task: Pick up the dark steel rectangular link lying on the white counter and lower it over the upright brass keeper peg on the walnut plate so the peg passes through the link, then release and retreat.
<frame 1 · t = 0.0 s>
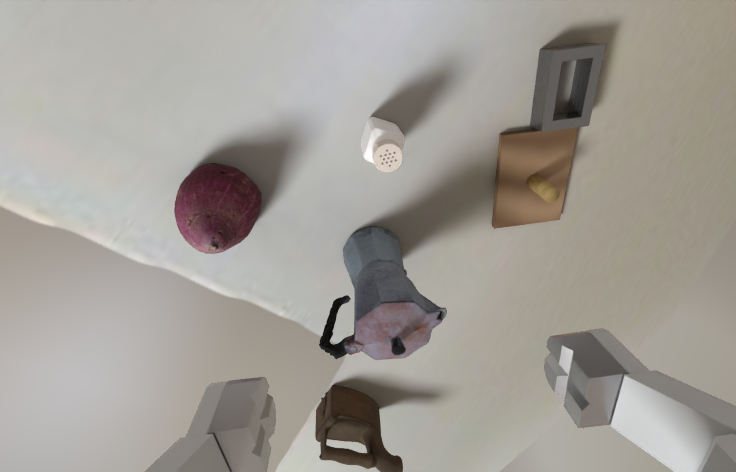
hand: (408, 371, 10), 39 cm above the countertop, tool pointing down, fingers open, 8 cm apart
keeper: (530, 178, 50), on the countertop
moka pot: (369, 252, 55), on the countertop
vegetable: (223, 198, 48), on the countertop
pepper shaker: (378, 133, 46), on the countertop
link: (558, 86, 44), on the countertop
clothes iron: (352, 402, 74), on the countertop
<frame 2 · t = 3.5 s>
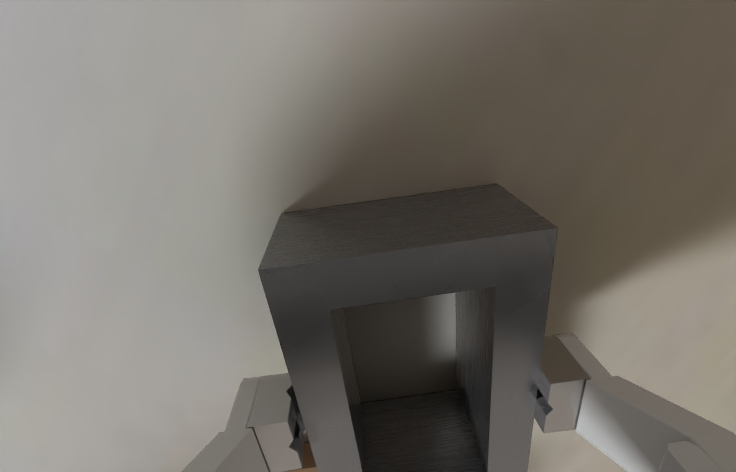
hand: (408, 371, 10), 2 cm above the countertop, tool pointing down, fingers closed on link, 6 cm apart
link: (402, 326, 12), on the countertop, touching gripper
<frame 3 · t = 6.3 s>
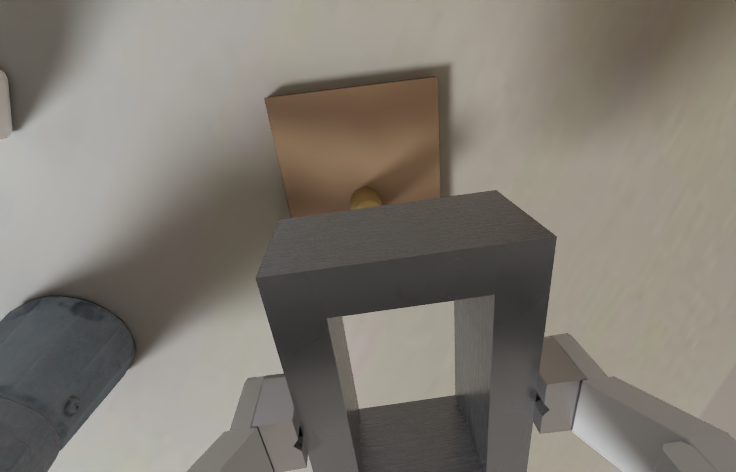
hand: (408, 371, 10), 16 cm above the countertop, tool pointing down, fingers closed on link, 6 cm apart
keeper: (364, 196, 24), on the countertop
moka pot: (76, 342, 28), on the countertop
link: (400, 332, 12), point 14 cm above the countertop, touching gripper
when the fingers open (4 cm above the countertop, at t = 9.1 s): link stays where it is, resting on keeper.
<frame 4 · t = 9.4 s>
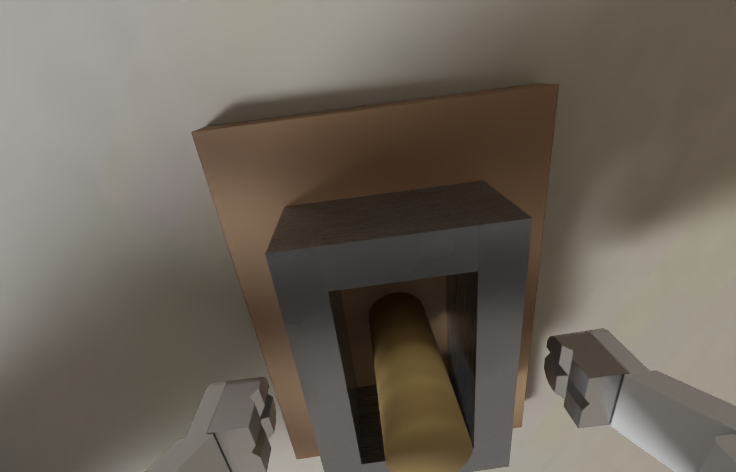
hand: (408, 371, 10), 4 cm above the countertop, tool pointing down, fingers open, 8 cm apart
keeper: (393, 299, 13), on the countertop
link: (396, 313, 12), point 1 cm above the countertop, touching keeper
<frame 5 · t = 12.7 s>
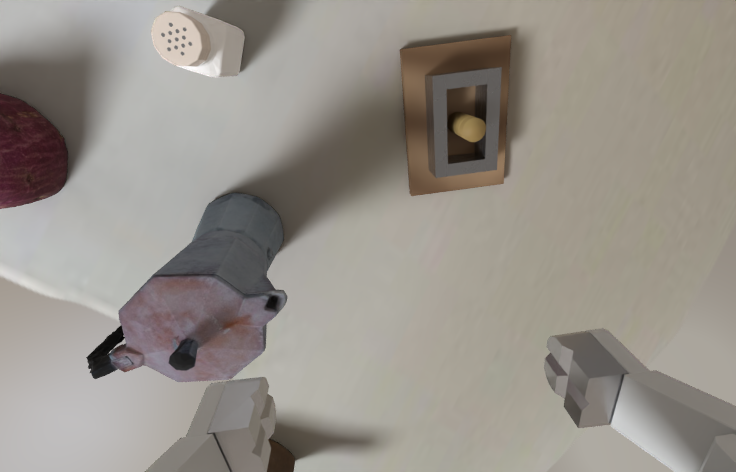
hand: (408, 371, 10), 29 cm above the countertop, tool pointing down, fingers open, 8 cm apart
keeper: (454, 121, 36), on the countertop
moka pot: (242, 232, 39), on the countertop
vegetable: (12, 146, 34), on the countertop
pepper shaker: (221, 47, 32), on the countertop
link: (456, 121, 35), point 1 cm above the countertop, touching keeper
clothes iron: (258, 451, 55), on the countertop
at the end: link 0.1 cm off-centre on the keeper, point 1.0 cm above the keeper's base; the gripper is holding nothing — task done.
